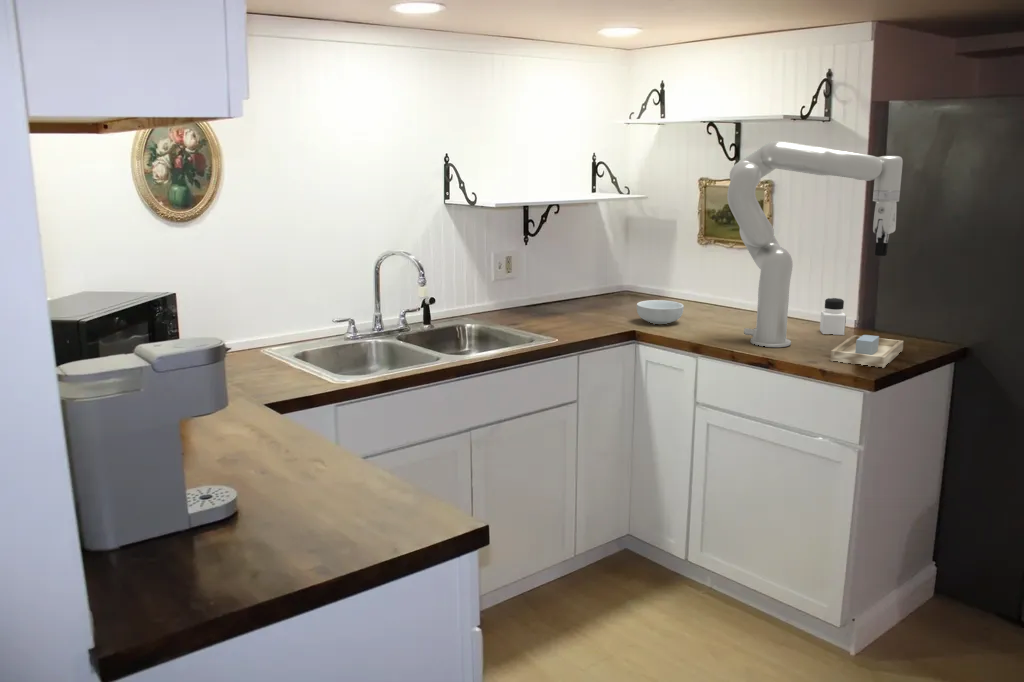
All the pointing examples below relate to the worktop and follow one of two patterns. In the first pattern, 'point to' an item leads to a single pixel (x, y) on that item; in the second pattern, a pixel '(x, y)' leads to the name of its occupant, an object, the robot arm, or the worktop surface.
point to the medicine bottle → (833, 317)
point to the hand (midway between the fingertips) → (880, 255)
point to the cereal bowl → (660, 311)
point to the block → (867, 344)
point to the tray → (879, 359)
